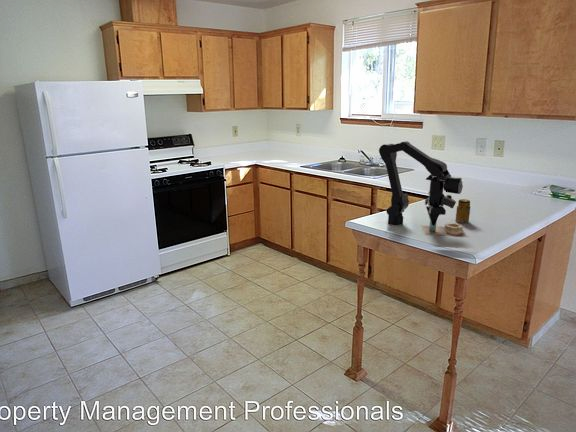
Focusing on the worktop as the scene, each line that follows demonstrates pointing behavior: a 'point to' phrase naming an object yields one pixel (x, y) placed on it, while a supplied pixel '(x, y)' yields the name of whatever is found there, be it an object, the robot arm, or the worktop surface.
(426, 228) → the board
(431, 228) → the dowel
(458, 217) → the condiment
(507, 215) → the worktop surface
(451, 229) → the bead
